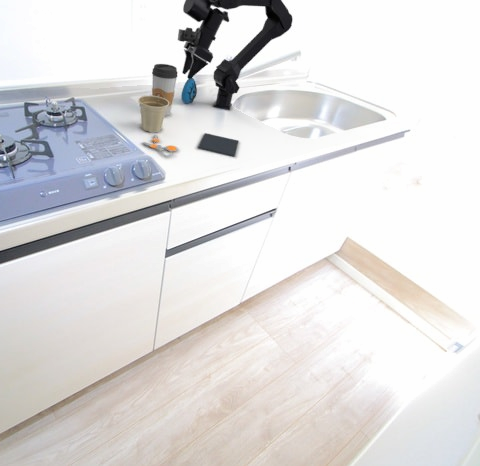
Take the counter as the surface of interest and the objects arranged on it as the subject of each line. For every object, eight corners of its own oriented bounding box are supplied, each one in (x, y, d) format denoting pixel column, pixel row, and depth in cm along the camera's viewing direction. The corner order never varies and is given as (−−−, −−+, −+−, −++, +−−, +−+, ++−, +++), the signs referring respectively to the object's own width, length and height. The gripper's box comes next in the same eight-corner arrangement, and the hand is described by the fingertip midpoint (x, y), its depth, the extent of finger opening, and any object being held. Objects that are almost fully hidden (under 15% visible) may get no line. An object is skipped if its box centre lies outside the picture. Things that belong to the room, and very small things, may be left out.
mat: (204, 134, 105) (204, 133, 105) (238, 142, 104) (238, 140, 104) (197, 148, 97) (198, 146, 97) (234, 156, 96) (234, 155, 95)
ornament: (188, 107, 122) (192, 79, 116) (177, 104, 124) (180, 75, 117) (197, 102, 128) (202, 74, 122) (187, 98, 130) (191, 71, 123)
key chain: (183, 153, 93) (183, 150, 93) (163, 158, 89) (163, 155, 89) (156, 135, 100) (157, 132, 100) (136, 139, 96) (137, 137, 96)
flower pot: (172, 130, 105) (175, 103, 99) (151, 137, 99) (153, 109, 93) (151, 120, 109) (154, 93, 103) (130, 126, 103) (131, 98, 98)
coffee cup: (145, 114, 112) (148, 66, 103) (155, 107, 119) (158, 61, 109) (167, 120, 111) (172, 72, 101) (176, 112, 117) (182, 67, 107)
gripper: (182, 14, 112) (161, 60, 119) (193, 16, 97) (169, 69, 104) (209, 32, 116) (188, 75, 123) (224, 36, 101) (199, 85, 108)
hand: (185, 76), depth 114 cm, fingers open, 9 cm apart
